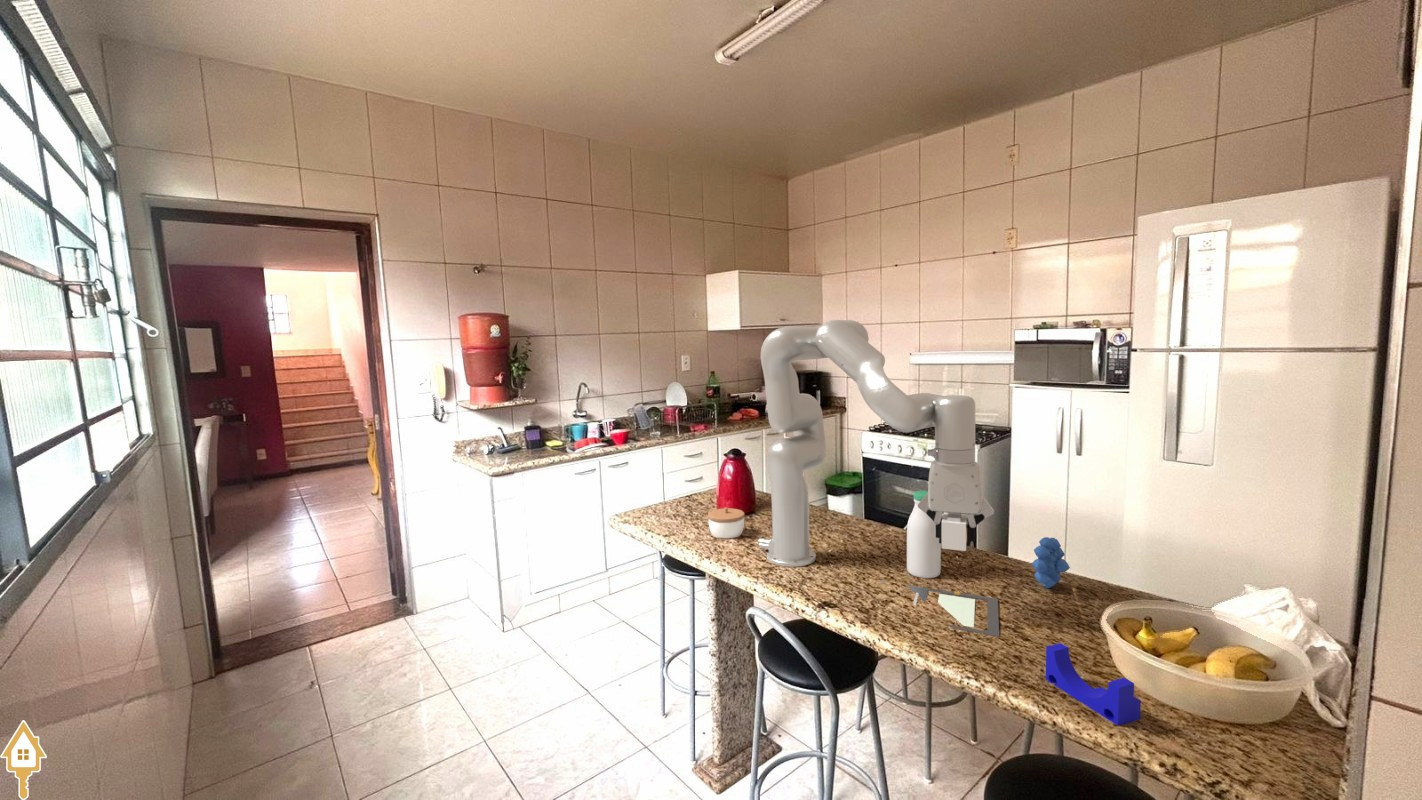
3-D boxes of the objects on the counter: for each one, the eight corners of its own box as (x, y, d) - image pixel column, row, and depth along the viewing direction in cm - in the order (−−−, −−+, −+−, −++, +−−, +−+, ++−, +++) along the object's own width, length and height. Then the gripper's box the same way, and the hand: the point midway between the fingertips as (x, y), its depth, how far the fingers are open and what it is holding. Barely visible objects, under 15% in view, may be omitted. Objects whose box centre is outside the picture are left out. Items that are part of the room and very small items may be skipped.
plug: (941, 548, 114) (941, 518, 114) (944, 537, 121) (944, 509, 120) (966, 551, 112) (966, 520, 112) (967, 539, 118) (967, 511, 118)
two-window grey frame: (831, 607, 121) (831, 605, 121) (849, 577, 136) (849, 575, 136) (999, 637, 107) (999, 634, 107) (997, 599, 122) (997, 597, 122)
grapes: (1057, 601, 120) (1058, 547, 119) (1024, 591, 126) (1025, 539, 124) (1080, 586, 127) (1081, 534, 126) (1048, 577, 132) (1049, 527, 131)
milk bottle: (943, 580, 133) (944, 497, 131) (909, 578, 134) (909, 496, 132) (937, 567, 140) (937, 488, 138) (904, 565, 142) (904, 488, 140)
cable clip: (1140, 719, 83) (1141, 680, 82) (1117, 726, 82) (1119, 687, 81) (1066, 675, 94) (1067, 641, 94) (1045, 681, 93) (1046, 646, 92)
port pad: (934, 621, 113) (934, 620, 113) (939, 594, 125) (939, 593, 125) (973, 628, 110) (973, 627, 110) (975, 600, 122) (975, 599, 122)
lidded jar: (744, 545, 160) (743, 513, 159) (707, 545, 161) (706, 513, 160) (745, 532, 171) (744, 502, 170) (710, 533, 172) (709, 503, 171)
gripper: (908, 457, 115) (909, 544, 117) (1002, 461, 108) (1001, 554, 109) (913, 450, 122) (913, 533, 124) (1001, 454, 114) (1000, 541, 116)
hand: (955, 542), depth 116 cm, fingers closed on plug, 4 cm apart
